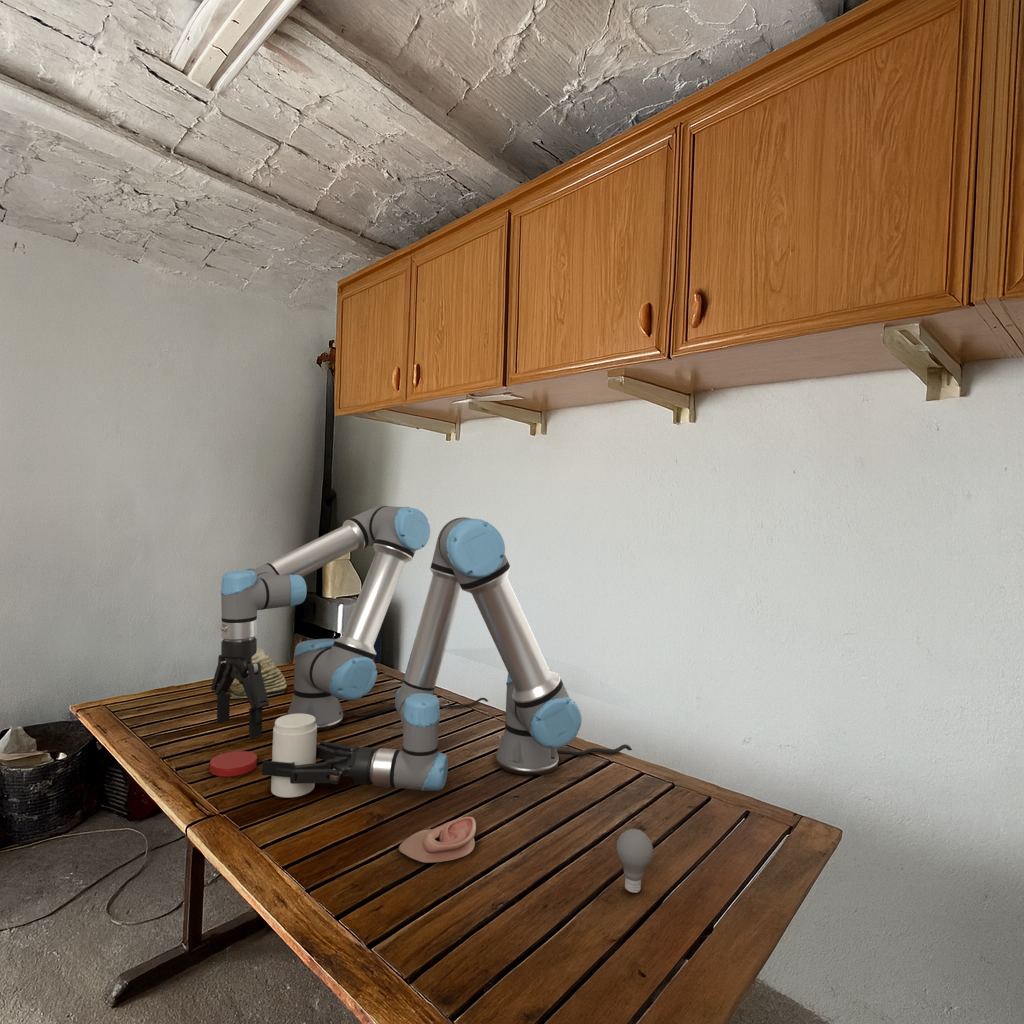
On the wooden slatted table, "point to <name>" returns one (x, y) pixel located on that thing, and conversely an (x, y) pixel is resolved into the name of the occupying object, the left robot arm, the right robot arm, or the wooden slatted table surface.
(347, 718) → the wooden slatted table surface
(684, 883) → the wooden slatted table surface
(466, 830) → the anatomical model
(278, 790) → the jar
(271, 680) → the fossil
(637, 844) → the light bulb
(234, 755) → the lid
